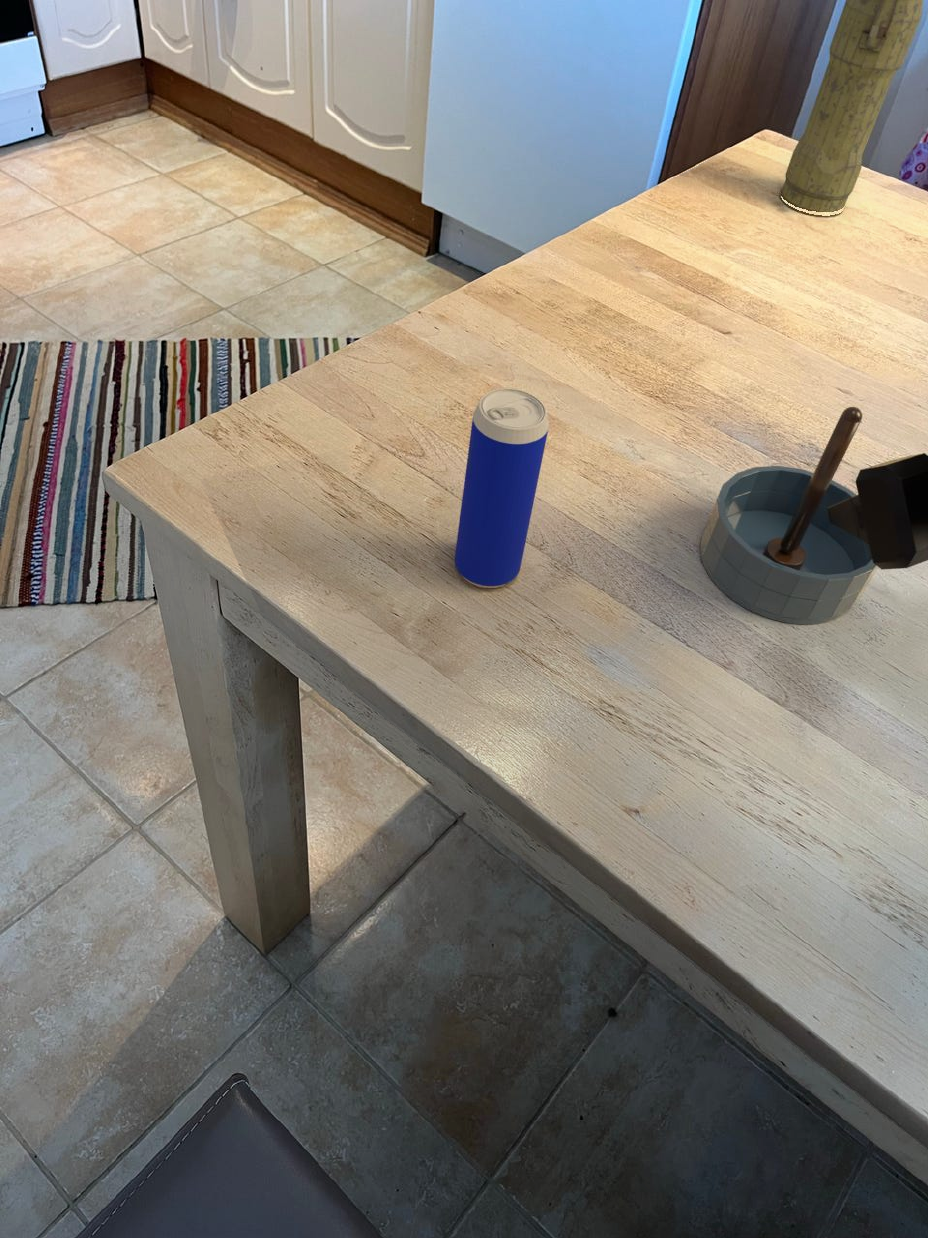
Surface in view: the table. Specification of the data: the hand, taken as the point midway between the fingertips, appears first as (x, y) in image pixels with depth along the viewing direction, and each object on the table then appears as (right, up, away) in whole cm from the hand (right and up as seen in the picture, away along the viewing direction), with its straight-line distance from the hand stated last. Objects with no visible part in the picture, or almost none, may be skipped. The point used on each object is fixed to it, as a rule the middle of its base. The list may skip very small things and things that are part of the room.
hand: (877, 499), depth 67 cm
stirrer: (-3, -4, +10) cm, 11 cm away
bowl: (-3, -4, +11) cm, 12 cm away
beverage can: (-28, -5, +7) cm, 29 cm away
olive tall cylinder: (+18, +48, +61) cm, 80 cm away
